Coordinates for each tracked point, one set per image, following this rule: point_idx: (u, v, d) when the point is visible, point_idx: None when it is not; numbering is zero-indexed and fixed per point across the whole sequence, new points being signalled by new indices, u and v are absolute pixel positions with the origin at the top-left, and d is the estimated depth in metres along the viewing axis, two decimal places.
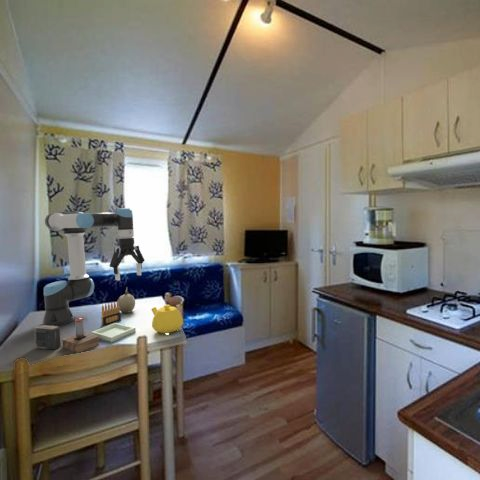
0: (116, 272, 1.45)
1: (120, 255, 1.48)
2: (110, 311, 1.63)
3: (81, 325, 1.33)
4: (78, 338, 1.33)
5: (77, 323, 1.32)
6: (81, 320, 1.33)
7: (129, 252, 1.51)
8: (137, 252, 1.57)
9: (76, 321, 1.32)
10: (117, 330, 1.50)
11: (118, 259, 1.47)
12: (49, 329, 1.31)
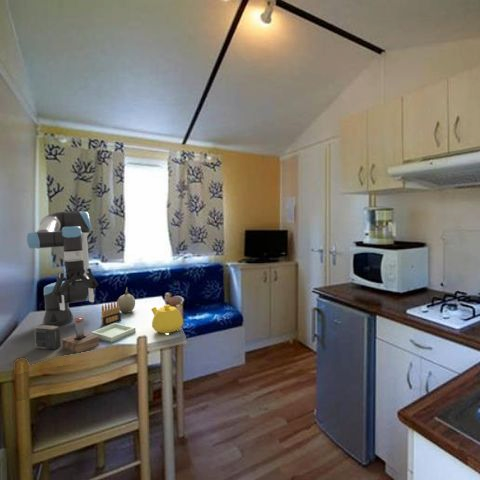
0: (60, 301, 1.26)
1: (66, 281, 1.29)
2: (110, 311, 1.63)
3: (81, 325, 1.33)
4: (78, 338, 1.33)
5: (77, 323, 1.32)
6: (81, 320, 1.33)
7: (77, 277, 1.32)
8: (89, 276, 1.37)
9: (76, 321, 1.32)
10: (117, 330, 1.50)
11: (63, 285, 1.27)
12: (49, 329, 1.31)
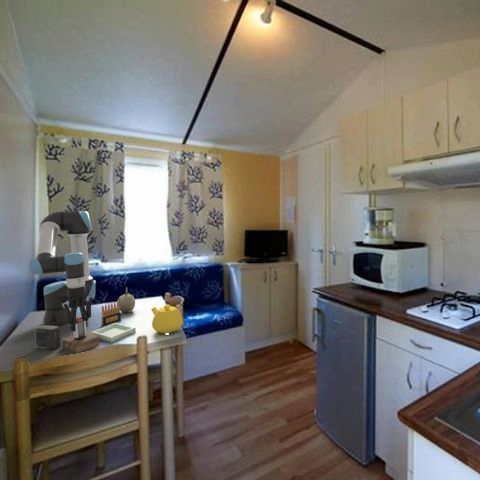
0: (74, 329, 1.31)
1: (72, 309, 1.31)
2: (110, 311, 1.63)
3: (81, 325, 1.33)
4: (78, 338, 1.33)
5: (77, 323, 1.32)
6: (81, 320, 1.33)
7: (80, 303, 1.33)
8: (87, 304, 1.37)
9: (76, 321, 1.32)
10: (117, 330, 1.50)
11: (72, 314, 1.31)
12: (49, 329, 1.31)
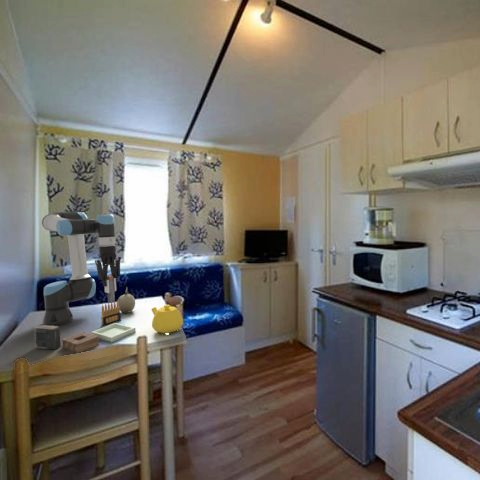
0: (105, 284, 1.42)
1: (104, 266, 1.42)
2: (110, 311, 1.63)
3: (112, 281, 1.44)
4: (109, 293, 1.44)
5: (108, 279, 1.43)
6: (112, 277, 1.44)
7: (110, 261, 1.44)
8: (116, 263, 1.48)
9: (107, 277, 1.43)
10: (117, 330, 1.50)
11: (104, 270, 1.42)
12: (49, 329, 1.31)
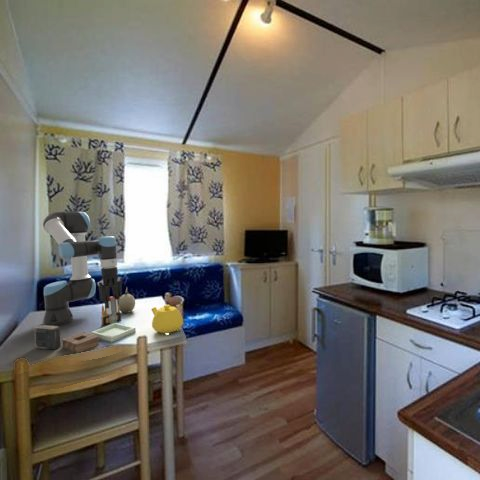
0: (107, 306, 1.43)
1: (106, 287, 1.43)
2: None
3: (113, 303, 1.45)
4: (111, 315, 1.45)
5: None
6: (113, 298, 1.45)
7: (112, 282, 1.45)
8: (118, 284, 1.49)
9: (109, 299, 1.44)
10: (117, 330, 1.50)
11: (106, 292, 1.43)
12: (49, 329, 1.31)
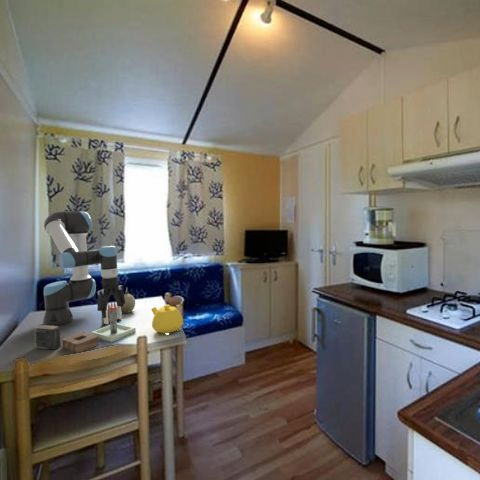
0: (104, 316, 1.42)
1: (105, 297, 1.43)
2: None
3: (114, 313, 1.46)
4: (112, 325, 1.45)
5: (111, 311, 1.45)
6: (114, 309, 1.46)
7: (113, 292, 1.45)
8: (120, 292, 1.50)
9: (110, 309, 1.45)
10: (117, 330, 1.50)
11: (104, 302, 1.42)
12: (49, 329, 1.31)
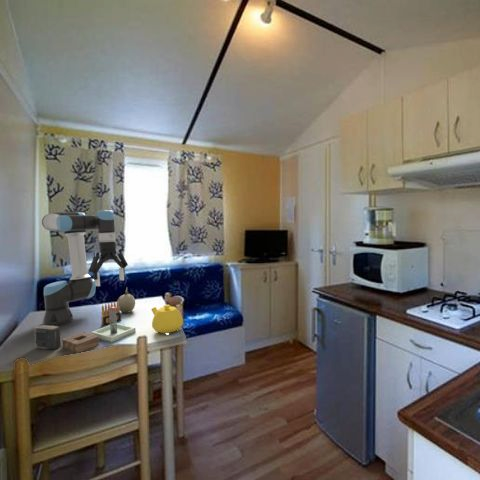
0: (96, 277, 1.38)
1: (100, 259, 1.41)
2: None
3: (114, 313, 1.46)
4: (112, 325, 1.45)
5: (111, 311, 1.45)
6: (114, 309, 1.46)
7: (110, 256, 1.44)
8: (119, 256, 1.50)
9: (110, 310, 1.45)
10: (117, 330, 1.50)
11: (98, 264, 1.40)
12: (49, 329, 1.31)
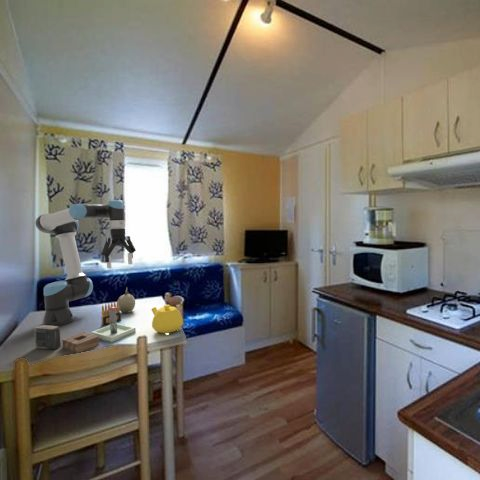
0: (107, 260, 1.53)
1: (111, 244, 1.56)
2: None
3: (114, 313, 1.46)
4: (112, 325, 1.45)
5: (111, 311, 1.45)
6: (114, 309, 1.46)
7: (120, 242, 1.59)
8: (128, 242, 1.65)
9: (110, 310, 1.45)
10: (117, 330, 1.50)
11: (109, 248, 1.55)
12: (49, 329, 1.31)
